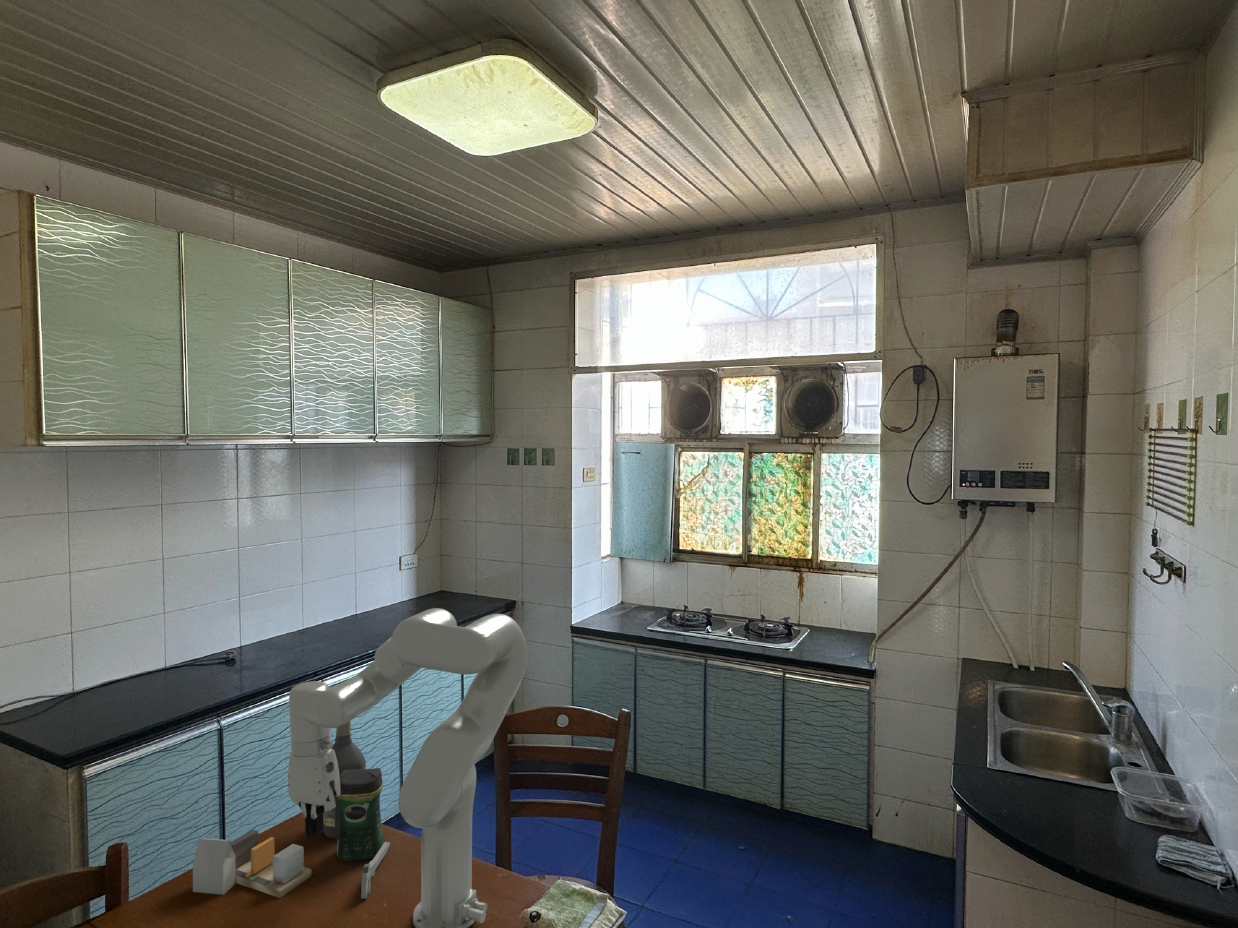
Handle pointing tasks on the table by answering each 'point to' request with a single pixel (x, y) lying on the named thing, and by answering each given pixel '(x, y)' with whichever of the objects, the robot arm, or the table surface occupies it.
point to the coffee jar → (360, 814)
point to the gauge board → (264, 876)
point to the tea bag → (213, 866)
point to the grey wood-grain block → (288, 863)
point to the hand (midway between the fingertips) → (314, 834)
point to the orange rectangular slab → (262, 856)
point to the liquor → (346, 759)
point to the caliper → (371, 870)
